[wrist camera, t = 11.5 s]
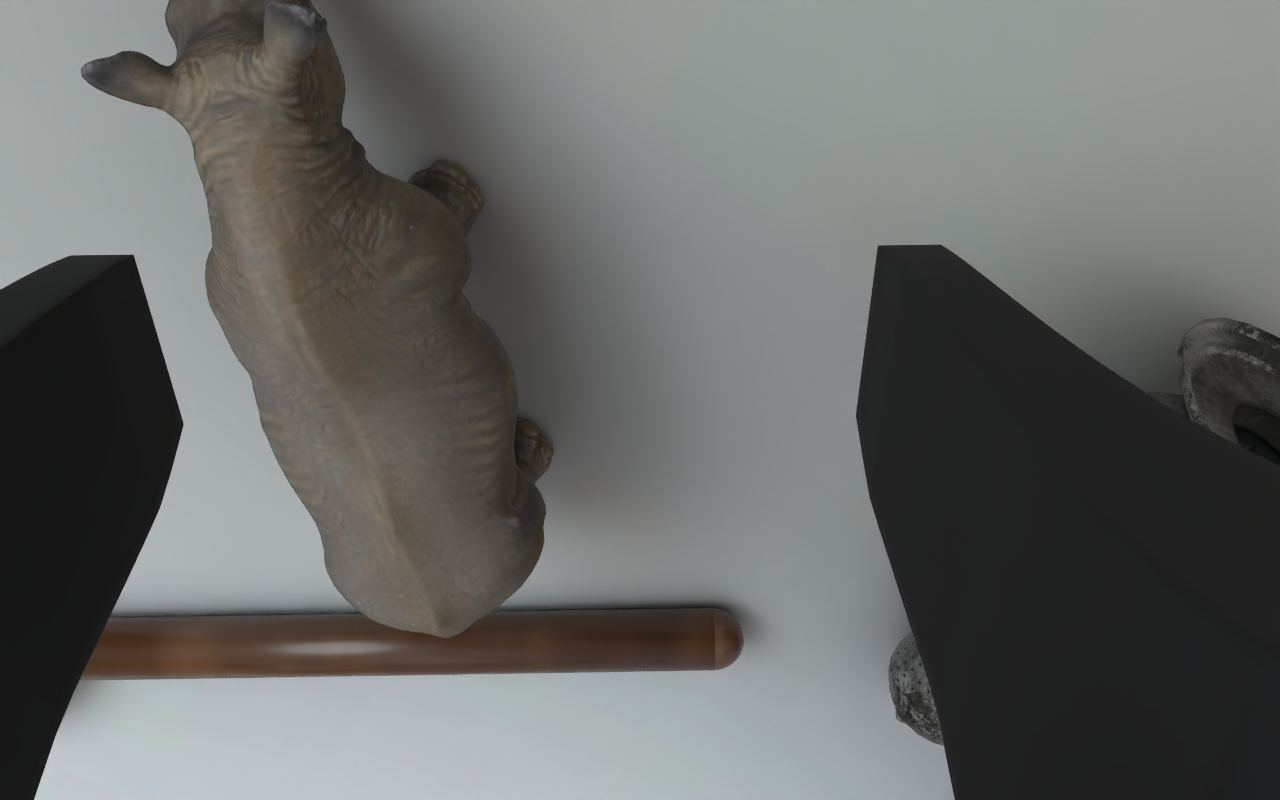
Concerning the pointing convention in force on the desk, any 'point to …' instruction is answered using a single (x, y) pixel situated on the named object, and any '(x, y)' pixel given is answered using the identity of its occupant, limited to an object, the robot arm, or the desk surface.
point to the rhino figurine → (351, 318)
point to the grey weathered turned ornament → (1212, 397)
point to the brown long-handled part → (414, 645)
